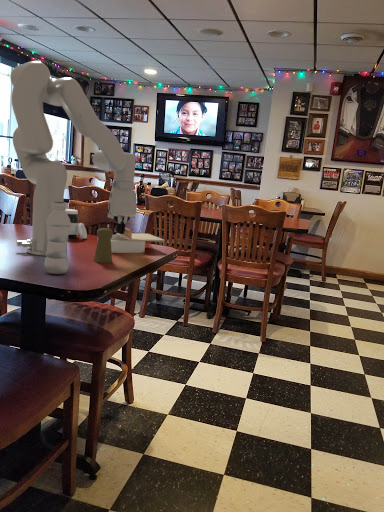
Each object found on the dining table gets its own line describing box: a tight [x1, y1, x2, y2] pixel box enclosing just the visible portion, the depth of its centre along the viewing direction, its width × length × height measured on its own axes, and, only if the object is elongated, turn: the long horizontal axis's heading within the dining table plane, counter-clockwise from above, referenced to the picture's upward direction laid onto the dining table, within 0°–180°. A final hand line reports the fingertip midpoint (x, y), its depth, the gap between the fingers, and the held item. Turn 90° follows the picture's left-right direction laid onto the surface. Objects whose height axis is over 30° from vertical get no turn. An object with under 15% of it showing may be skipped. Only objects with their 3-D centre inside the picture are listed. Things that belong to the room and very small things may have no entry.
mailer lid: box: [115, 227, 165, 242], centre depth 161 cm, size 14×14×4 cm
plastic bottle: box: [43, 201, 71, 275], centre depth 110 cm, size 6×7×20 cm
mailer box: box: [96, 234, 146, 254], centre depth 157 cm, size 14×14×4 cm
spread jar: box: [65, 208, 88, 240], centre depth 170 cm, size 12×11×12 cm
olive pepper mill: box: [93, 227, 114, 264], centre depth 133 cm, size 6×6×11 cm
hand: (120, 233), depth 156 cm, fingers closed
